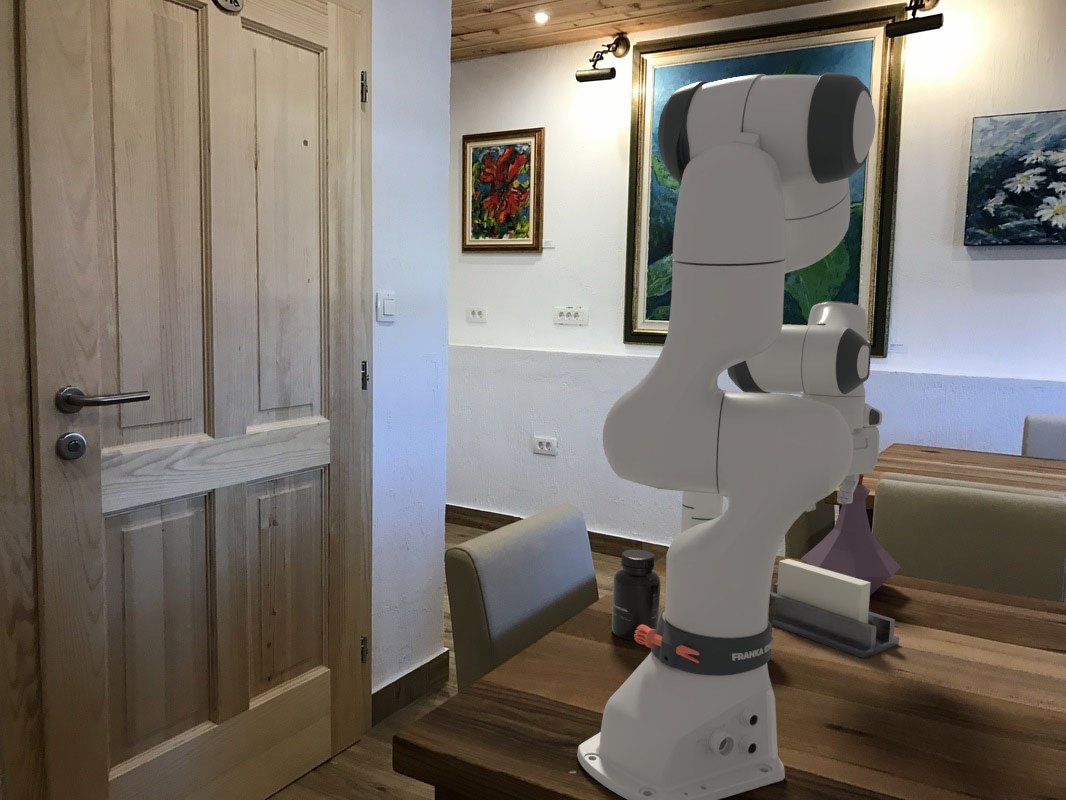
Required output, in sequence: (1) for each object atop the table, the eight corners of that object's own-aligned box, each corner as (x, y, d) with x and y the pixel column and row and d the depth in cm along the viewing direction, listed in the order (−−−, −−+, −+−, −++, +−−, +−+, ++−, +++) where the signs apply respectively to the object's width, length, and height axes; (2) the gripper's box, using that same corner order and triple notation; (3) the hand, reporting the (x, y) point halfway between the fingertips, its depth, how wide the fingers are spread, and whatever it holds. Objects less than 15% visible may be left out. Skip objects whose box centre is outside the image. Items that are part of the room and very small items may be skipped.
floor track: (898, 644, 124) (900, 617, 124) (863, 658, 119) (865, 630, 118) (782, 604, 140) (783, 580, 139) (747, 615, 134) (748, 591, 134)
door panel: (867, 635, 124) (870, 582, 123) (857, 639, 123) (861, 585, 122) (785, 608, 135) (788, 558, 134) (776, 611, 134) (778, 561, 133)
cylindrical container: (696, 564, 161) (701, 432, 158) (727, 574, 155) (733, 437, 153) (671, 571, 156) (676, 435, 153) (702, 582, 151) (708, 441, 148)
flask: (891, 577, 156) (899, 468, 153) (907, 607, 140) (916, 486, 138) (797, 568, 160) (802, 462, 157) (802, 597, 144) (808, 479, 142)
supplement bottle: (606, 638, 124) (609, 557, 123) (617, 622, 131) (619, 545, 129) (653, 645, 122) (656, 563, 121) (662, 628, 128) (665, 550, 127)
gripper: (808, 419, 117) (802, 519, 118) (888, 413, 129) (883, 503, 131) (769, 415, 122) (764, 510, 123) (851, 409, 134) (845, 496, 136)
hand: (826, 507), depth 127 cm, fingers open, 8 cm apart
